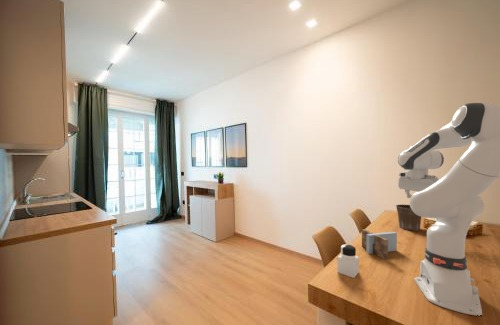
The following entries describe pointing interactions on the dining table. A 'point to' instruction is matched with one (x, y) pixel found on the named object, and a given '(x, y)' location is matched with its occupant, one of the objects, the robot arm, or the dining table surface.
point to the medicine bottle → (348, 261)
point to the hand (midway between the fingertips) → (417, 199)
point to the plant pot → (408, 218)
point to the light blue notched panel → (388, 235)
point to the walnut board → (376, 244)
